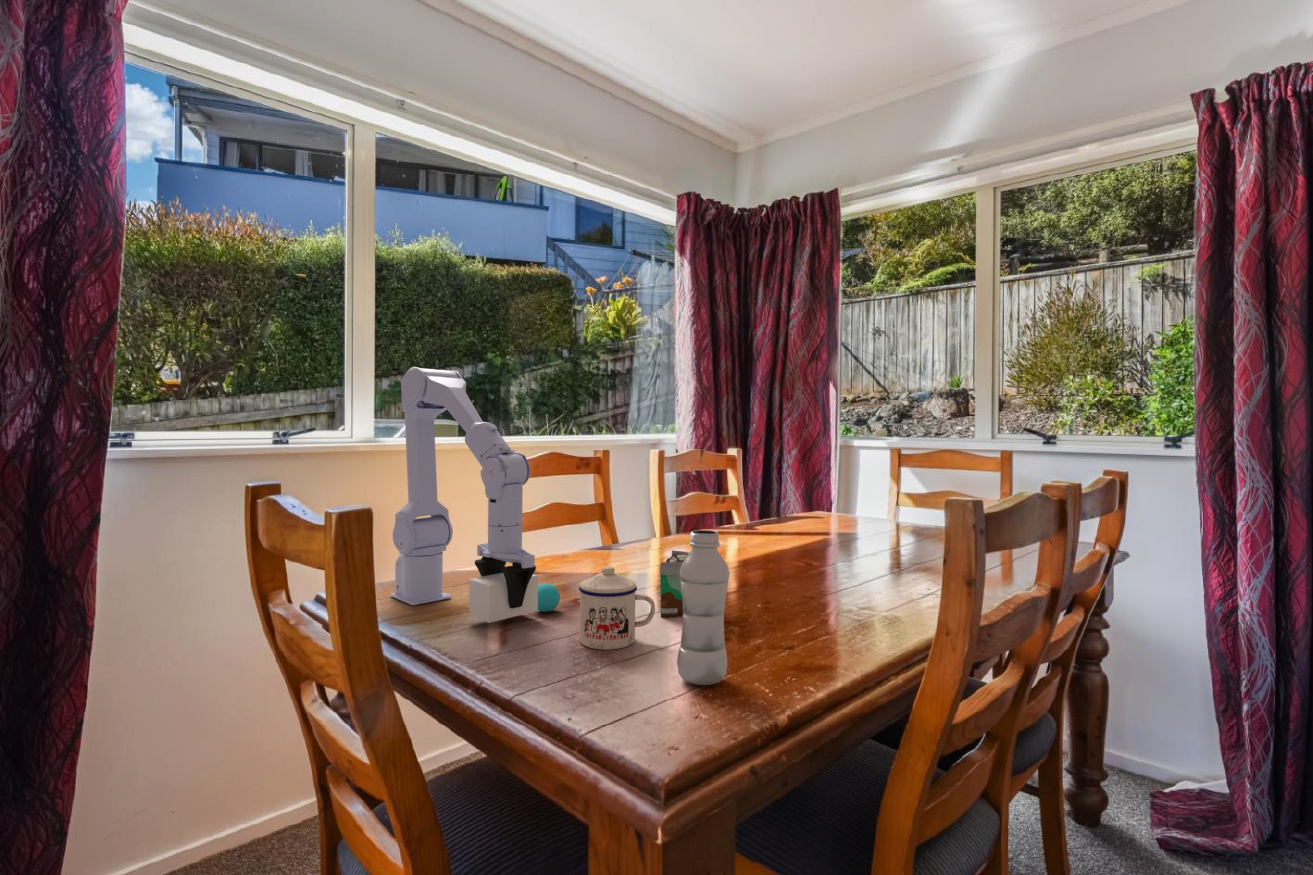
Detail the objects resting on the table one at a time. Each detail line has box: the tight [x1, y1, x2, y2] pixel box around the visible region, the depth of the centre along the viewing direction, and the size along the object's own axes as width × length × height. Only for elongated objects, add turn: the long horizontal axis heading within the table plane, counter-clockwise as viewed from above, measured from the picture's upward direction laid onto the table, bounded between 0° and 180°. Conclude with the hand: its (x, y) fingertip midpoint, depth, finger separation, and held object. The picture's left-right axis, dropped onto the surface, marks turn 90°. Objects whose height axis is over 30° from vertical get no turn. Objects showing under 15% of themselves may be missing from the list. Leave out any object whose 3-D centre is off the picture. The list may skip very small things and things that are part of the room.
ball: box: [537, 583, 561, 613], centre depth 120 cm, size 5×5×5 cm
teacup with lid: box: [578, 566, 656, 651], centre depth 104 cm, size 12×9×12 cm
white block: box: [468, 573, 539, 623], centre depth 114 cm, size 6×10×6 cm, turn 136°
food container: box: [659, 550, 690, 619], centre depth 122 cm, size 12×6×10 cm, turn 168°
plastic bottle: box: [676, 529, 730, 686], centre depth 88 cm, size 6×7×20 cm
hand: (504, 603), depth 114 cm, fingers closed on white block, 6 cm apart
